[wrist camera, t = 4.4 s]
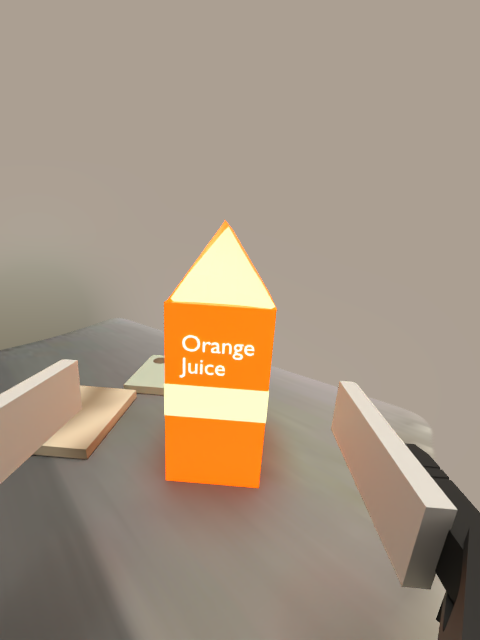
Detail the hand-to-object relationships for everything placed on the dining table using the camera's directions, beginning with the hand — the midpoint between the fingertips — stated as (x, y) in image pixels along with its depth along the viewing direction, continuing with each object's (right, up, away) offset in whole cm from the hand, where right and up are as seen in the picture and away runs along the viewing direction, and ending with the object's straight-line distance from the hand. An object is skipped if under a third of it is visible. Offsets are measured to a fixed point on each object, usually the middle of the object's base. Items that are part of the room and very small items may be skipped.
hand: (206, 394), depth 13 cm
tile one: (-16, -7, +14) cm, 23 cm away
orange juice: (0, -9, +12) cm, 15 cm away
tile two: (-8, -5, +25) cm, 26 cm away
